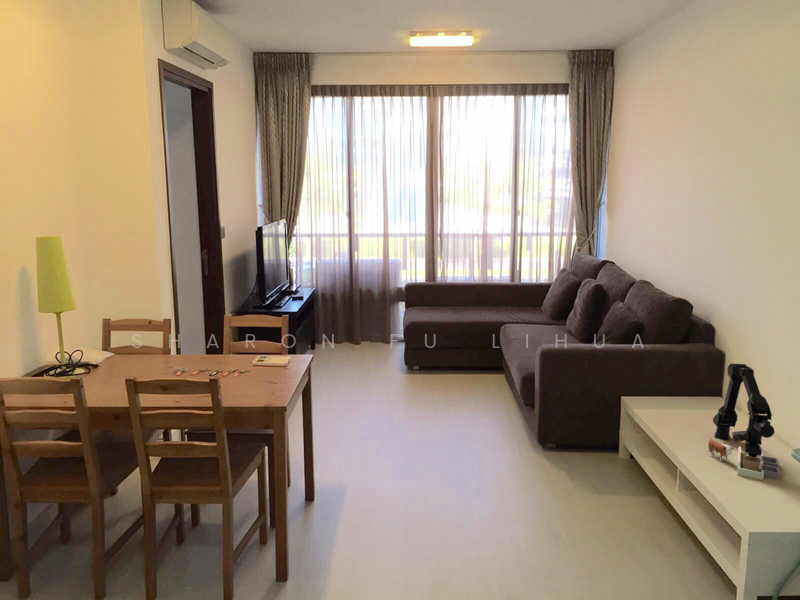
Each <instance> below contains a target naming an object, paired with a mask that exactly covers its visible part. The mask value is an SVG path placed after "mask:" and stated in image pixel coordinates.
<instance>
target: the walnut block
mask: <svg viewBox="0 0 800 600" xmlns="http://www.w3.org/2000/svg"><path fill="white" fill-rule="evenodd" d="M760 465H761V461H760V457H758V456H757V457H752V456H749V455H747V454H744V455H743V462H742V468H743V469H748V470H753V471H757V472H760Z"/></svg>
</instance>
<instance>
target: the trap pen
mask: <svg viewBox="0 0 800 600" xmlns="http://www.w3.org/2000/svg"><path fill="white" fill-rule="evenodd" d="M741 452H742V447H741V446H740V445H739V446H738V451H737V472H736V475H737V476H741V477H746V478H750V479H755V480H761V481H764V478H765V477H766V478H770V479H775V480H779V479H780V467H779V459H778V458H777V457H772V456H766V455H764V451H763V450H762V454H761V455H759V458H760V467H759V470H760V471H759V472H757V471H753V470H748V469H743V467H741V457H742V455H741Z"/></svg>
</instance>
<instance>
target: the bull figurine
mask: <svg viewBox="0 0 800 600" xmlns="http://www.w3.org/2000/svg"><path fill="white" fill-rule="evenodd" d="M734 449H735V448H734V447H731V446H729V445H728V444H725V443H724V444H723V443H721V442H719V441H718V440H717V441H716V440H714V439H712V438H710V439H709V441H708V452H709V453H710V456H711V457H712V458H713V457H714V455H715V453H716V454H720V456H719V457H720V458H719V461H720V462H722V461H723V460H722V459H723V457H725V462H727V463H729V460H728V456H729V455H732V451H733V450H734Z"/></svg>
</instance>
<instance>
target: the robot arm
mask: <svg viewBox="0 0 800 600" xmlns="http://www.w3.org/2000/svg"><path fill="white" fill-rule="evenodd" d="M726 369H727V376H728V378H729V382H728V386H727V390H726V394H725V398H724V402H723V403H724V404H723V405H722V406H721V407H720V408H718V410H717V413H716V414H715V415H714V416H713V417H712V423H713V424H714V425H715V426H716V431H715V432H714V438H715V439H716V438H717V439H723V440H728V441H730V439H731V436H732V440H733V442H734V443H738V442H744V453H746V454H748V456H752V457H757V458H758V456H760V455H761V454H762V451H763V449H762V447H761V445H762V439H763V438H765V439H768V438H771V437H773V435H774V434H775V428H774V427H773V426H772V425H771V421H772V420H773V418H772V416H773V414H772V411H771V407H770V404H769V402H768V401H767V399H766V398H765V397H764V396H763V395H762V394H761V392H760V389H759V386H758V383H757V381H756V378H755V371H754V369H753V368H752V367H750V366H748V365H747V364H746V363H730V364H728V366H727V368H726ZM742 383H743V385H744V388H745V391H746V393H747V398H748V400H747V406H746V407H747V411H748V412H747V415H748V416H749V418H748V424H747V428H746V430H739V431H737V430H736V431H733V432H732V433H731V435H730V432H731V428H732V427H733V428H735V427H736V424H737V421H738V414H737V411H736V405H737V401H738V397H739V393H740V389H741V386H742V385H741V384H742Z"/></svg>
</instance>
